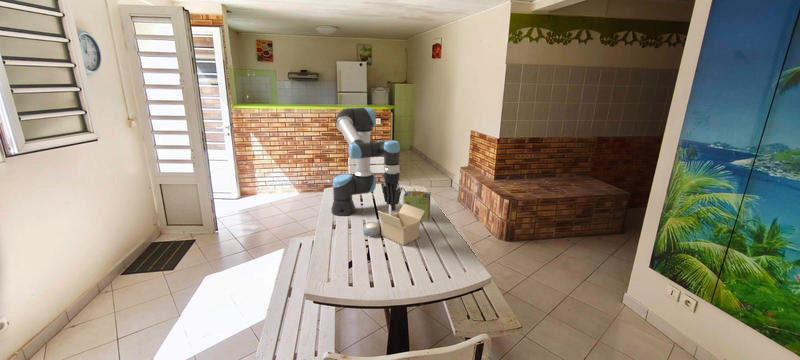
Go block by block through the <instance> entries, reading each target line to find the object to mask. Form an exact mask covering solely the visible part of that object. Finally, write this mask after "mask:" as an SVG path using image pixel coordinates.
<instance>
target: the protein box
mask: <svg viewBox="0 0 800 360" xmlns="http://www.w3.org/2000/svg"><path fill="white" fill-rule="evenodd" d="M404 204H407V205H410V206H413V207H416V208H419V209H422V210H425V213H424V214H423V216H422V218H421V220H420V222H423V221H425V222H426V223H428V222H429V219H430V215H431V192H430V191H419V190H418V191H417V190H406V191H405V193H404V194H403V205H404ZM403 205H402V206H403ZM409 217H410V216H409ZM417 220H418V219H417Z"/></svg>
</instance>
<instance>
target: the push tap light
mask: <svg viewBox="0 0 800 360" xmlns="http://www.w3.org/2000/svg"><path fill="white" fill-rule="evenodd" d="M379 235H381V224H380V223H379V222H375V221H369V222H366V223H364V224H363V236H365V237H368V236H370V237H368V238H376V237H379ZM375 236H376V237H375Z"/></svg>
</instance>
